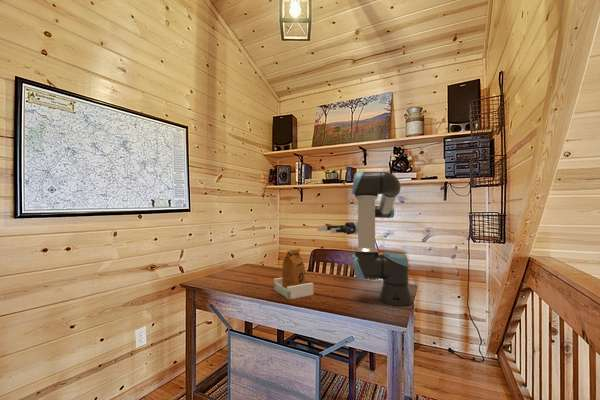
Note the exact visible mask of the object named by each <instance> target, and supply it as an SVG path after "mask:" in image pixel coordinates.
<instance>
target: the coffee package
mask: <svg viewBox="0 0 600 400" xmlns="http://www.w3.org/2000/svg"><path fill="white" fill-rule="evenodd" d="M300 252H301V248H300V247H299V248H298V247H297V248H295V249H290V250H289V251H287V253H286V255H285V256H284V259H283V261H282V267H281V269H282V270H281V271H282V272H281V278H282V286H283V287H284V288H286V289H287V287H289V286H295V285H301V284H306V268H305V264H304V261H303V259H301V258H302V256H301V254H300Z"/></svg>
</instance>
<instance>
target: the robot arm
mask: <svg viewBox="0 0 600 400" xmlns="http://www.w3.org/2000/svg"><path fill="white" fill-rule="evenodd" d="M400 192H401V183H400V180H399V179H398V177H396V175H395V174H393V173H391V172H389V171H383V170H382V171H359V172H358V171H357V172H355V173H354V176H353V182H352V190H351V194H352V195H354V198H355V200H356V201H357V221H348V222H345V224H341V225H340V224H339V225H324V226H323V225H321V226H317V231H318V232H323V231H324V232H327V231H330V234H340V233H344V234H346V235H355V236H356V235H357V248H355V250H354V253H352V255H351V257H352V263H353V264H352V265H353V272H354V276H355V277H356V278H361V279H373V280H375V279H377V280H379V279H380V280H383V281H382V287H381V290H380V292H379V300H380V302H382V303H383V304H385V305H390V306H395V307H397V306H398V307H405V306H410V305H411V304H412V303H413V297H412V295H411V292H410V288H409V260H408V259H409V258H408V257H407V256H406V255H405V254H402V253H398V252H393V251H383V253H382V254H379V250H378V249H377V248H376V218H378V219H391V218H394V217H395V207H394V203H395V201H396V197H397V196H398V195H399V194H400ZM379 195H381V196H380V201H379V205H376V200H377V199H378V198H379Z"/></svg>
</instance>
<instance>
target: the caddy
mask: <svg viewBox="0 0 600 400" xmlns="http://www.w3.org/2000/svg"><path fill="white" fill-rule="evenodd" d="M273 290H274V291H275V292H276V293H278V294H279V295H281V296H283V297H284V298H285V299H286V300H287V301H288V300H294V299H298V298H304V297H308V296H314V282H308V283H305V284H301V285H295V286H289V287H287V289H286V288H284V287H283V286H282V277H278V278H277V277H276V278H273Z"/></svg>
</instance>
